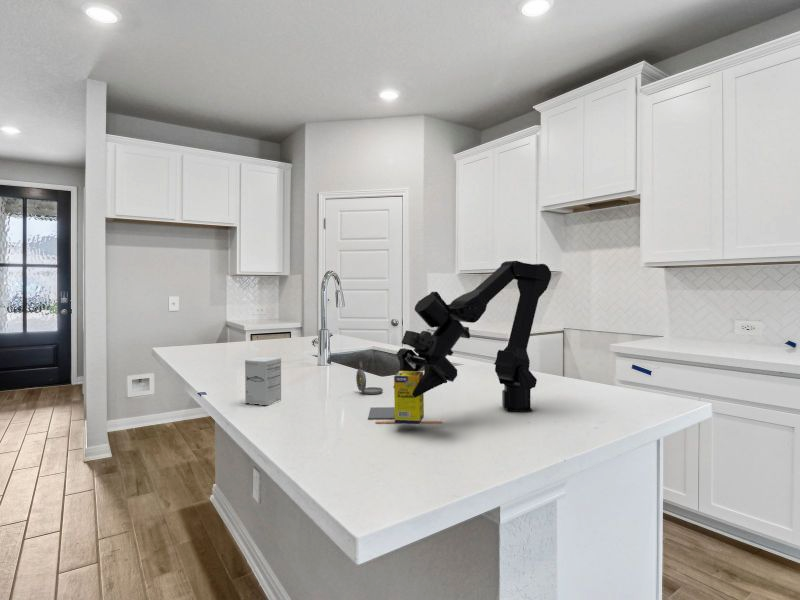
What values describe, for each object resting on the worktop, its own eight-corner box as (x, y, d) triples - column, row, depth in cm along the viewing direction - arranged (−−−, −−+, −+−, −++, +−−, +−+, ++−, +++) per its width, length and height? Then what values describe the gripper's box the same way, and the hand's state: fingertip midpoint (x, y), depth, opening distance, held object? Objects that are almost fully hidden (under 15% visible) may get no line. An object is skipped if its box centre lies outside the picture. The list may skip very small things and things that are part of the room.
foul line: (441, 421, 115) (441, 420, 115) (442, 423, 114) (442, 421, 114) (375, 422, 115) (375, 421, 115) (375, 423, 114) (375, 422, 114)
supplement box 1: (244, 404, 134) (243, 359, 133) (261, 398, 140) (260, 355, 140) (266, 406, 131) (265, 361, 130) (282, 400, 138) (281, 357, 137)
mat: (415, 408, 127) (415, 407, 127) (416, 419, 117) (416, 417, 117) (370, 408, 127) (370, 407, 127) (368, 419, 117) (368, 417, 117)
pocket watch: (386, 391, 148) (386, 359, 148) (371, 397, 141) (370, 363, 140) (365, 389, 152) (365, 357, 152) (349, 394, 145) (348, 361, 145)
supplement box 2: (420, 424, 106) (419, 376, 106) (394, 423, 107) (393, 375, 107) (424, 417, 112) (423, 371, 111) (399, 416, 113) (398, 370, 113)
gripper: (402, 315, 119) (363, 364, 114) (445, 320, 102) (402, 377, 97) (429, 344, 123) (392, 392, 118) (474, 353, 107) (434, 409, 102)
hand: (403, 392), depth 109 cm, fingers closed on supplement box 2, 8 cm apart
